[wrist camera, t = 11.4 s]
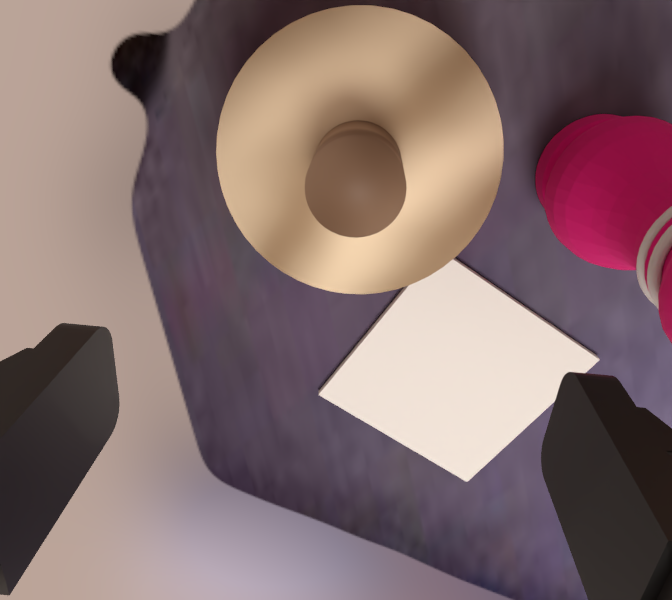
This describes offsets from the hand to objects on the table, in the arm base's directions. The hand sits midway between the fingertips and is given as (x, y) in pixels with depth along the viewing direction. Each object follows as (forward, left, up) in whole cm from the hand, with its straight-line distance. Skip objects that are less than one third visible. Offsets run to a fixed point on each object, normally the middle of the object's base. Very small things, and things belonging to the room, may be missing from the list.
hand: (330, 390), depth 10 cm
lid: (0, 0, -18) cm, 18 cm away
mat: (-14, +9, -24) cm, 29 cm away
